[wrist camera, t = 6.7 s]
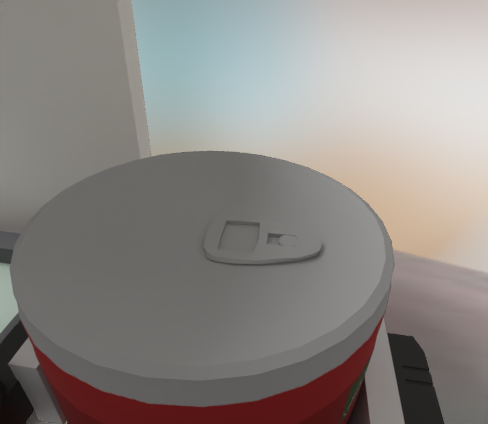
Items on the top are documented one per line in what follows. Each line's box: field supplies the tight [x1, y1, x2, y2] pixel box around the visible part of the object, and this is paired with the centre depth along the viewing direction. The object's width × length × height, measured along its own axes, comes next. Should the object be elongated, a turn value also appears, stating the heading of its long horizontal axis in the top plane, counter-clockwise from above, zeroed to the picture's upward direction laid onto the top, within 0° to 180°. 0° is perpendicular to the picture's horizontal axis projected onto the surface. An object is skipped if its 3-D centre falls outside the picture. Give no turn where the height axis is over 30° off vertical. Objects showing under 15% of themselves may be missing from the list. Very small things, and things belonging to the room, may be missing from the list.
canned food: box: [10, 151, 394, 424], centre depth 11 cm, size 8×8×11 cm
